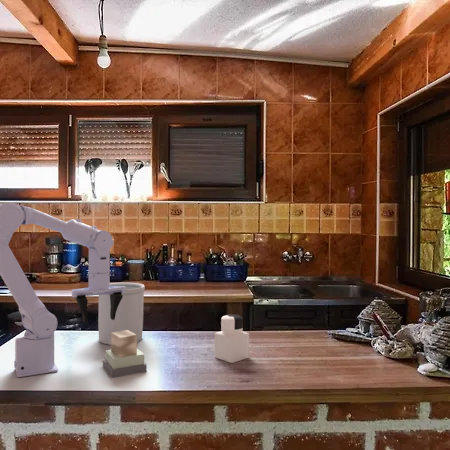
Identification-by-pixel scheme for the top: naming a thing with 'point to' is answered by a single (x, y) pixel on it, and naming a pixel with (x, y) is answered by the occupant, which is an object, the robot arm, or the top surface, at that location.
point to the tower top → (124, 359)
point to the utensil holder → (122, 312)
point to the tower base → (124, 369)
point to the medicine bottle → (231, 340)
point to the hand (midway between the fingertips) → (99, 320)
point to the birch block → (123, 343)
